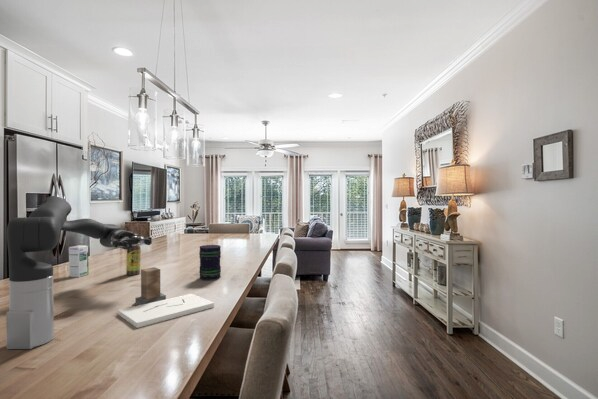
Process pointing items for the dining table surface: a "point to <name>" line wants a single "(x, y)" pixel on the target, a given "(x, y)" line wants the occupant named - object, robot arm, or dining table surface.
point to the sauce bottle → (133, 260)
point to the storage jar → (210, 262)
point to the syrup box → (78, 261)
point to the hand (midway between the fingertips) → (138, 243)
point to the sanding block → (150, 287)
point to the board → (164, 309)
